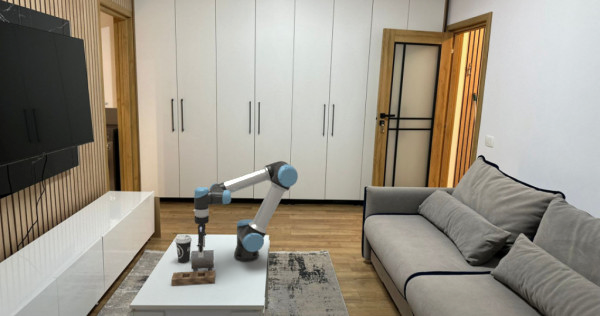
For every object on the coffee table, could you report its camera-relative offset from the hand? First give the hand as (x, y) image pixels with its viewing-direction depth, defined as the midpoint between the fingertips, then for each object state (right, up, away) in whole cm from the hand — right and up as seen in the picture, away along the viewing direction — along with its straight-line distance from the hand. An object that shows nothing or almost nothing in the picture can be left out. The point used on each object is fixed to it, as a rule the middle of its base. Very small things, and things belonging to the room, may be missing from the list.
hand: (201, 252), depth 223 cm
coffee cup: (-14, -9, +16) cm, 23 cm away
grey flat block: (0, -12, +2) cm, 12 cm away
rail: (-2, -14, -8) cm, 16 cm away
